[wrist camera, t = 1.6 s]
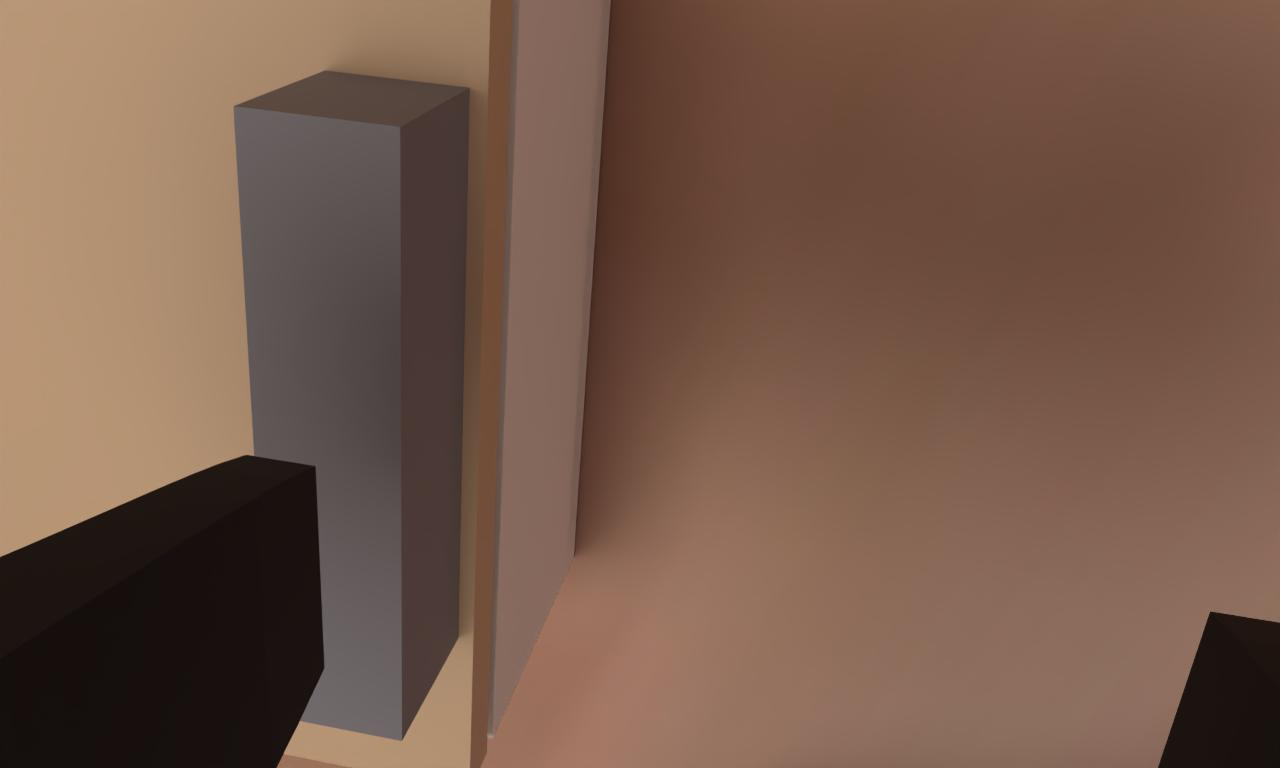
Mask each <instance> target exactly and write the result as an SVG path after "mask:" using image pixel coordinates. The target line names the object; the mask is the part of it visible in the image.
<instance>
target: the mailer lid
mask: <svg viewBox="0 0 1280 768" xmlns="http://www.w3.org/2000/svg"><path fill="white" fill-rule="evenodd" d="M511 27H512V0H0V557H1V556H4V555H6V554H8V553H11V552H13V551H15V550H18V549H20V548H22V547H25V546H27V545H29V544H32V543H34V542H36V541H39V540H41V539H43V538H46V537H48V536H50V535H52V534H55V533H57V532H59V531H62V530H64V529H66V528H69V527H71V526H73V525H76V524H78V523H80V522H82V521H85V520H87V519H89V518H92V517H94V516H96V515H99V514H101V513H103V512H106V511H108V510H110V509H112V508H115V507H117V506H119V505H122V504H124V503H126V502H128V501H131V500H133V499H135V498H138V497H140V496H142V495H144V494H147V493H149V492H151V491H154V490H156V489H158V488H161V487H163V486H165V485H168V484H170V483H172V482H175V481H177V480H179V479H182V478H184V477H187V476H189V475H191V474H194V473H196V472H199V471H201V470H204V469H206V468H209V467H212V466H214V465H217V464H220V463H222V462H225V461H228V460H232V459H235V458H238V457H241V456H244V455H251V456H257V457H263V458H269V459H275V460H281V461H288V462H294V463H300V464H306V465H312V466H316V485H317V508H318V531H319V553H320V576H321V599H322V621H323V644H324V667H325V668H324V670H323V672H322V675H321V677H320V679H319V681H318V683H317V685H316V687H315V690H314V692H313V694H312V696H311V698H310V700H309V702H308V705H307V707H306V709H305V711H304V713H303V715H302V717H301V720H300V722H299V724H298V726H297V728H296V730H295V732H294V734H293V736H292V738H291V740H290V742H289V744H288V746H287V748H286V750H285V752H284V754H286V755H291V756H296V757H301V758H306V759H311V760H316V761H321V762H326V763H331V764H336V765H341V766H346V767H351V768H480V766H481V764H482V762H483V760H484V757H485V755H486V753H487V733H488V703H489V674H490V644H491V615H492V586H493V556H494V527H495V497H496V468H497V439H498V409H499V380H500V350H501V321H502V292H503V262H504V233H505V203H506V174H507V145H508V115H509V86H510V56H511Z"/></svg>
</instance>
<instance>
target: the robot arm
mask: <svg viewBox="0 0 1280 768" xmlns="http://www.w3.org/2000/svg"><path fill="white" fill-rule="evenodd" d="M324 668H325V667H324V644H323V621H322V599H321V576H320V553H319V531H318V508H317V485H316V466H312V465H306V464H300V463H294V462H288V461H281V460H275V459H269V458H263V457H257V456H251V455H244V456H241V457H238V458H235V459H232V460H228V461H225V462H222V463H220V464H217V465H214V466H212V467H209V468H206V469H204V470H201V471H199V472H196V473H194V474H191V475H189V476H187V477H184V478H182V479H179V480H177V481H175V482H172V483H170V484H168V485H165V486H163V487H161V488H158V489H156V490H154V491H151V492H149V493H147V494H144V495H142V496H140V497H138V498H135V499H133V500H131V501H128V502H126V503H124V504H122V505H119V506H117V507H115V508H112V509H110V510H108V511H106V512H103V513H101V514H99V515H96V516H94V517H92V518H89V519H87V520H85V521H82V522H80V523H78V524H76V525H73V526H71V527H69V528H66V529H64V530H62V531H59V532H57V533H55V534H52V535H50V536H48V537H46V538H43V539H41V540H39V541H36V542H34V543H32V544H29V545H27V546H25V547H22V548H20V549H18V550H15V551H13V552H11V553H8V554H6V555H4V556H1V557H0V768H277V766H278V764H279V762H280V760H281V758H282V756H283V754H284V752H285V750H286V748H287V746H288V744H289V742H290V740H291V738H292V736H293V734H294V732H295V730H296V728H297V726H298V724H299V722H300V720H301V717H302V715H303V713H304V711H305V709H306V707H307V705H308V702H309V700H310V698H311V696H312V694H313V692H314V690H315V687H316V685H317V683H318V681H319V679H320V677H321V675H322V672H323V670H324ZM1158 768H1280V623H1278V622H1272V621H1265V620H1259V619H1253V618H1247V617H1241V616H1235V615H1228V614H1222V613H1216V612H1210V614H1209V617H1208V620H1207V623H1206V626H1205V629H1204V632H1203V635H1202V638H1201V641H1200V644H1199V647H1198V650H1197V653H1196V656H1195V659H1194V662H1193V665H1192V668H1191V671H1190V674H1189V677H1188V680H1187V683H1186V686H1185V689H1184V692H1183V695H1182V698H1181V701H1180V704H1179V707H1178V710H1177V713H1176V716H1175V719H1174V722H1173V725H1172V728H1171V731H1170V734H1169V737H1168V740H1167V743H1166V746H1165V748H1164V751H1163V754H1162V757H1161V760H1160V763H1159V766H1158Z"/></svg>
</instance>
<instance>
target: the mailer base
mask: <svg viewBox="0 0 1280 768" xmlns="http://www.w3.org/2000/svg"><path fill="white" fill-rule="evenodd" d="M610 5H611V0H512V27H511V56H510V86H509V115H508V145H507V174H506V203H505V233H504V262H503V292H502V321H501V350H500V380H499V409H498V439H497V468H496V497H495V527H494V556H493V586H492V615H491V644H490V674H489V703H488V733H487V737H489V738H493V737H494V735H495V733H496V731H497V728H498V726H499V724H500V722H501V719H502V717H503V715H504V713H505V710H506V708H507V706H508V704H509V701H510V699H511V697H512V695H513V693H514V690H515V688H516V686H517V684H518V681H519V679H520V677H521V675H522V672H523V670H524V668H525V666H526V663H527V661H528V659H529V657H530V655H531V652H532V650H533V648H534V646H535V643H536V641H537V639H538V637H539V634H540V632H541V630H542V628H543V625H544V623H545V621H546V619H547V616H548V614H549V612H550V610H551V608H552V605H553V603H554V601H555V599H556V596H557V594H558V592H559V590H560V587H561V585H562V583H563V581H564V578H565V576H566V574H567V572H568V570H569V567H570V565H571V563H572V561H573V558H574V549H575V534H576V518H577V503H578V488H579V473H580V458H581V443H582V428H583V413H584V398H585V383H586V368H587V352H588V337H589V322H590V307H591V292H592V277H593V262H594V247H595V232H596V217H597V202H598V187H599V171H600V156H601V141H602V126H603V111H604V96H605V81H606V66H607V51H608V36H609V21H610Z"/></svg>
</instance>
